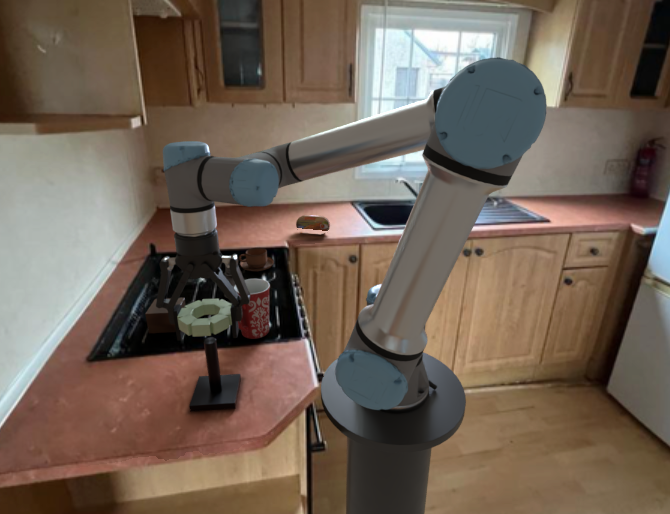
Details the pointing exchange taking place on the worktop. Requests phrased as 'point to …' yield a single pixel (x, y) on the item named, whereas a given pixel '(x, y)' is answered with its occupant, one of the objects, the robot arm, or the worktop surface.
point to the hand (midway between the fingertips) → (208, 335)
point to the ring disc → (206, 325)
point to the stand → (215, 384)
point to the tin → (313, 222)
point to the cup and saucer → (256, 260)
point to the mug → (255, 310)
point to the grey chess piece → (229, 277)
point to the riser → (160, 318)
